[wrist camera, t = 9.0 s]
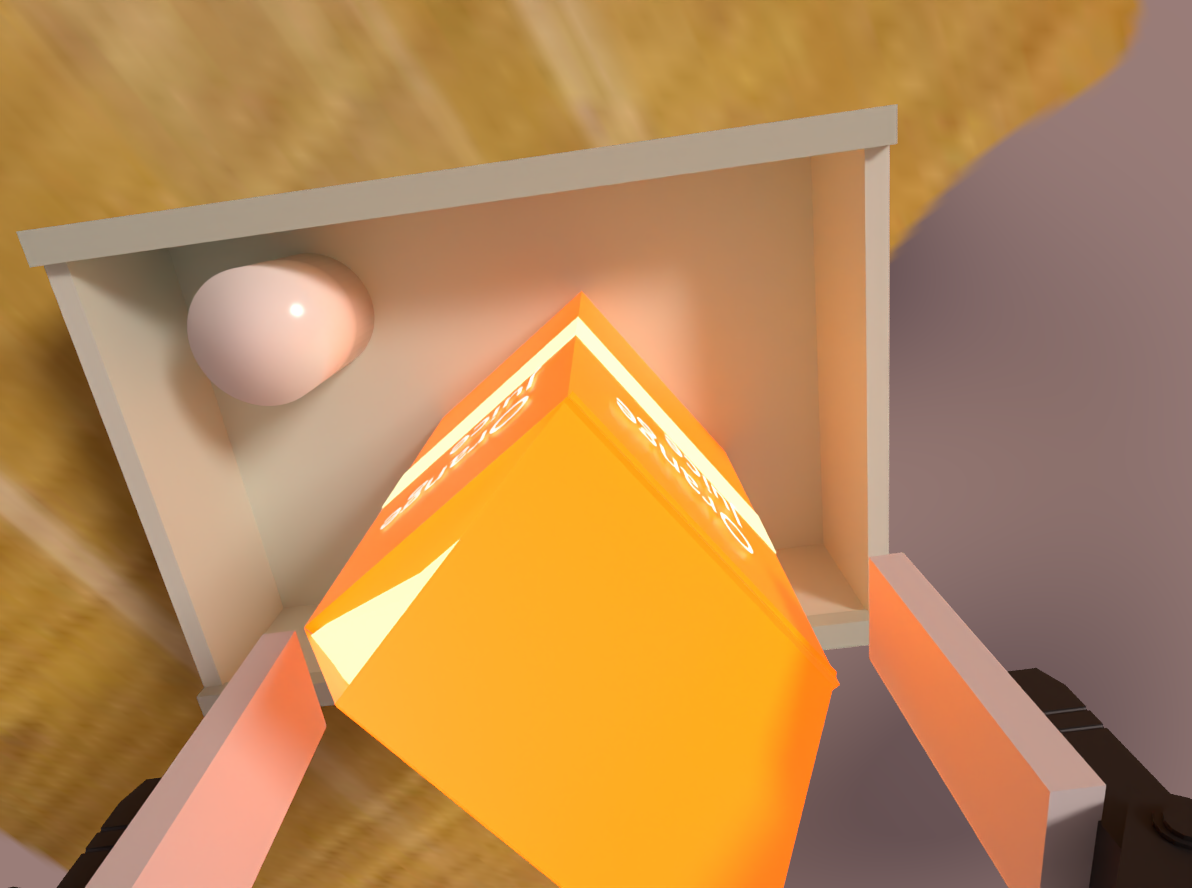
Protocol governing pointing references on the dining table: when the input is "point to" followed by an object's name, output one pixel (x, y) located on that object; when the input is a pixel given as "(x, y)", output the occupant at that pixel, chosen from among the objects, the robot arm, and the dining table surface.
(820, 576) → the tote
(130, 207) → the dining table surface
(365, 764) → the dining table surface
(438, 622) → the orange juice
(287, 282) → the pink rounded egg
